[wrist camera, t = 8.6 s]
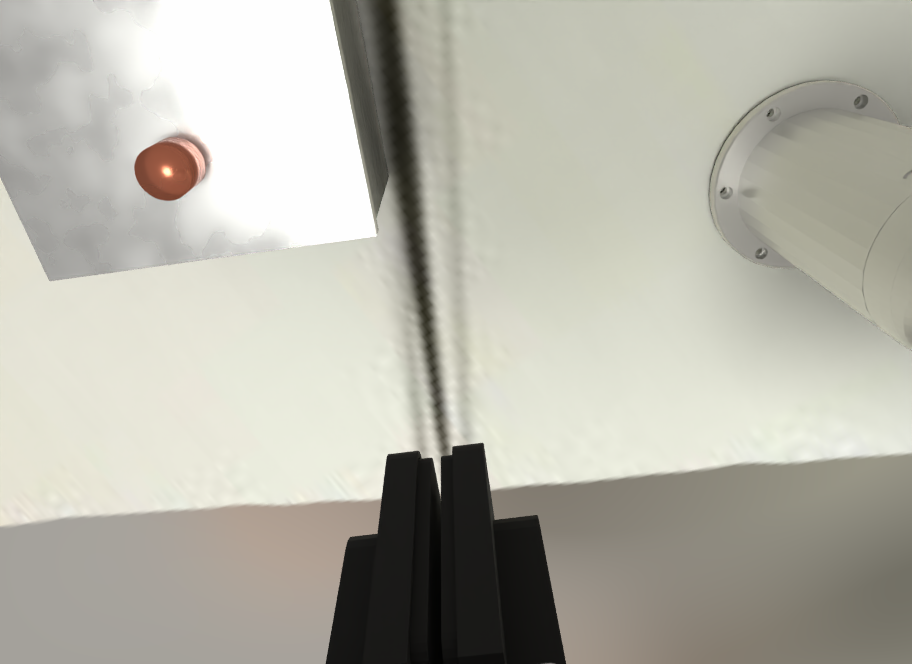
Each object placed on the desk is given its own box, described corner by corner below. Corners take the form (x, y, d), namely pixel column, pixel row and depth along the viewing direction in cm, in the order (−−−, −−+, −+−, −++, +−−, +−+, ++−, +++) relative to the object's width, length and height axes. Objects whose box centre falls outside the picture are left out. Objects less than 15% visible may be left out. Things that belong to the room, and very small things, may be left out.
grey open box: (337, -104, 36) (294, -148, 26) (388, 176, 44) (371, 233, 33) (4, -50, 37) (-172, -72, 26) (109, 216, 44) (4, 283, 34)
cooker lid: (267, -324, 23) (244, -365, 20) (378, 229, 33) (373, 250, 30) (-180, -245, 24) (-259, -275, 21) (59, 273, 33) (26, 297, 31)
